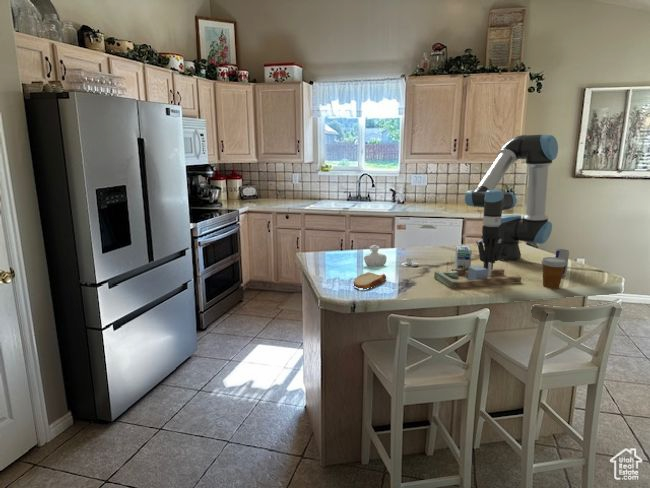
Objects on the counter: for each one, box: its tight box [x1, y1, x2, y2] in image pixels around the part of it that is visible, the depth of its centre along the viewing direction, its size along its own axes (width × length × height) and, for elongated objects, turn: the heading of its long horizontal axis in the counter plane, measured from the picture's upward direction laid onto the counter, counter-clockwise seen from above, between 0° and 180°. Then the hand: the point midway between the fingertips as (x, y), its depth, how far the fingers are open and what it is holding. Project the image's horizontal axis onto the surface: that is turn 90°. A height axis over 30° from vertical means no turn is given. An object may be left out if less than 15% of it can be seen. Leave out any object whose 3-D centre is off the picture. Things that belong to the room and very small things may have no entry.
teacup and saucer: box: [401, 256, 419, 267], centre depth 224 cm, size 9×8×4 cm
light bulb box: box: [454, 244, 473, 269], centre depth 216 cm, size 11×7×11 cm, turn 168°
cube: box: [467, 265, 489, 280], centre depth 196 cm, size 6×6×6 cm
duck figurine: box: [363, 244, 388, 267], centre depth 223 cm, size 12×8×11 cm
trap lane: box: [433, 268, 522, 289], centre depth 199 cm, size 34×19×3 cm, turn 104°
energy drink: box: [555, 248, 570, 278], centre depth 204 cm, size 5×5×12 cm
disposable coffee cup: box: [541, 256, 566, 290], centre depth 188 cm, size 10×10×12 cm
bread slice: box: [353, 271, 387, 289], centre depth 194 cm, size 18×18×4 cm
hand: (487, 276), depth 198 cm, fingers closed
